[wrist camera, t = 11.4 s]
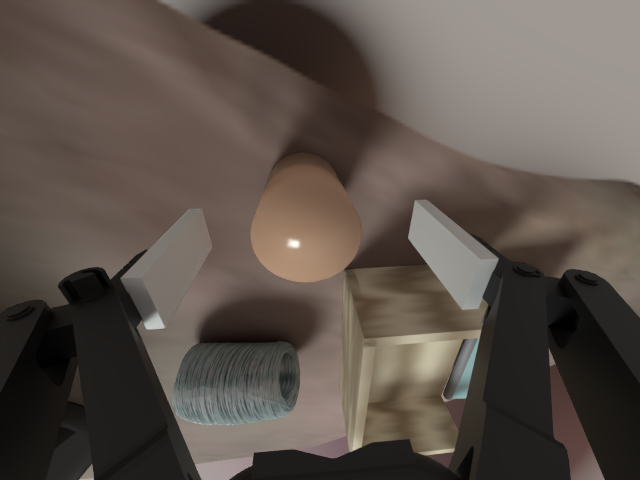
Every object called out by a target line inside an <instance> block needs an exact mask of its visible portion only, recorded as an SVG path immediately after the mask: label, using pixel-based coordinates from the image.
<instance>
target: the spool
mask: <svg viewBox="0 0 640 480" xmlns="http://www.w3.org/2000/svg"><path fill="white" fill-rule="evenodd" d="M299 386H300V368H299V360H298V356H297V353H296V351H295V349H294V347H293V346H292V345H291V344H290V343H287V342H283V341H277V342H266V343H227V342H226V343H216V342H212V343H203V342H202V343H199V344H196V345H194V346H193V347H191V349H190V350H189V351H188V352H187V354H186V355H185V357H184V358H183V360H182V362H181V365H180V368H179V371H178V373H177V377H176V382H175V385H174V389H173V394H172V404H173V407H174V410H175V412H176V414H177V416H179V417H180V418H182V419H184V420H187V421H189V422H192V423H197V424H202V425H238V424H246V423H254V422H260V421H265V420H271V419H280V418H283V417H284V416H286V415H287V414H288V413H290V412H291V411H292V410H293V408H294V406H295V404H296V401H297V397H298V392H299Z"/></svg>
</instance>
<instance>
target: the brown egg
mask: <svg viewBox="0 0 640 480" xmlns="http://www.w3.org/2000/svg"><path fill="white" fill-rule="evenodd" d="M361 238H362V227H361V222H360V219H359V216H358V214H357V212H356V210H355V208H354V206H353V204H352V202H351V200H350V199H349V197H348V195H347V193H346V191H345V189H344V187H343V185H342V184H341V182H340V180H339V178H338V176H337V174H336V172H335V170H334V169H333V167H332V166H331V165H330V164H329V163H328V162H327V161H326V160H325V159H323V158H322V157H320V156H318V155H315V154H312V153H307V152H300V153H294V154H290V155H288V156H286V157H284V158H282V159H281V160H280V161H278V162H277V163H276V164H275V166H274V167H273V168H272V170H271V172H270V174H269V177H268V180H267V182H266V185H265V188H264V191H263V194H262V197H261V199H260V202H259V205H258V208H257V211H256V214H255V216H254V219H253V222H252V227H251V242H252V246H253V249H254V252H255V254H256V256H257V257H258V259H259V260H260V262H261V263H262V264H263V265H264V266H265V267H266V268H267V269H268V270H269V271H271V272H272V273H274V274H275V275H277V276H279V277H281V278H284V279H287V280H290V281H295V282H315V281H320V280H324V279H327V278H329V277H332V276H334V275H335V274H337V273H339V272H340V271H342V270H343V269H344V268H345V267H346V266H347V265H349V263H350V262H351V261H352V260H353V258H354V257H355V255H356V254H357V251H358V249H359V247H360V243H361Z"/></svg>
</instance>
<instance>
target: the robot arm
mask: <svg viewBox="0 0 640 480" xmlns="http://www.w3.org/2000/svg"><path fill="white" fill-rule="evenodd" d="M408 239H409V240H410V242H411V243H412V244H413V246H414V247H415V248H416V249H417V251H418V252H419V253H420V255H421V256H422V257H423V259H424V260H425V261H426V263H427V264H428V265H429V267H430V268H431V269H432V271H433V272H434V273H435V275H436V276H437V277H438V279H439V280H440V281H441V282H442V284H443V285H444V286H445V288H446V289H447V290H448V292H449V293H450V294H451V296H452V297H453V298H454V300H455V301H456V302H457V304H458V305H459V306H460V308H461V309H462V310H467V309H479V306H480V304H481V301H482V299H484V300H485V301H486V302H487V304H488V307H487V309H486V311H485V314H484V316H483V318H482V321H481V323H482V324H483V325H482V330H481V334H480V339H479V343H478V348H477V352H476V357H475V361H474V366H473V370H472V375H471V379H470V383H469V388H468V392H467V397H466V402H465V406H464V411H463V415H462V419H461V424H460V428H459V433H458V437H457V442H456V446H455V450H454V453H453V456H452V459H451V462H450V465H449V468H446V467H445V466H444V465H442V464H441V463H439V462H437V461H436V460H434V459H432V458H430V457H428V456H425V455H423V454H420V453H417V452H413V449H412V446H411V442H410V439H404V440H393V441H382V442H372V443H370V444H367V445H365V446H363V447H361V448H358V449H356V450H354V451H352V452H349V453H347V454H345V455H343V456H340V457H338V458H333V459H332V458H327V457H323V456H319V455H314V454H310V453H306V452H302V451H298V450H293V449H292V450H280V451H269V452H258V453H254V457H253V465H252V466H251V467H249V468H247V469H245V470H243V471H241V472H240V473H238V474H236V475H235V476H234V477H232V478H231V479H230V480H571V478H570V467H569V459H568V454H567V450H566V448H565V446H564V445H563V444H562V443H560V442H558V441H556V440H555V439H554V436H553V423H552V422H553V421H552V404H551V385H550V366H549V349H550V351H551V354H552V356H553V359H554V361H555V363H556V366H557V367H558V370H559V373H560V375H561V377H562V380H563V382H564V384H565V387H566V389H567V392H568V394H569V396H570V399H571V401H572V403H573V406H574V408H575V410H576V413H577V415H578V417H579V420H580V422H581V424H582V427H583V429H584V432H585V434H586V436H587V439H588V441H589V443H590V446H591V448H592V450H593V453H594V455H595V457H596V460H597V462H598V464H599V467H600V469H601V472H602V474H603V476H604V479H605V480H640V318H639V317H638V315H637V314H636V313H635V312H634V311H633V310H632V309H631V308H630V306H629V305H628V304H627V303H626V302H625V301H624V300H623V299H622V297H621V296H620V295H619V294H618V293H617V292H616V291H615V289H614V288H613V287H612V286H611V285H610V284H609V283H608V282H607V281H606V280H604V279H603V278H601V277H599V276H598V275H596V274H594V273H591V272H588V271H582V270H576V269H570V270H566V271H565V272H564V274H563V276H562V278H561V279H560V278H553V277H545V276H544V275H543V273H542V272H541V271H540V270H538V269H536V268H535V267H533V266H530V265H527V264H524V263H519V262H510V261H509V260H508V259H506V258H505V257H504V256H503V255H501V254H500V253H499V252H497V251H496V250H495V249H493V248H492V247H491V246H490V245H488V244H487V243H486V242H485V241H484V240H482V239H481V238H479V237H477V236H475V235H472V234H468V233H467V232H466V231H465V230H463V229H462V228H461V227H460V226H458V225H457V224H456V223H455V222H454V221H452V220H451V219H450V218H449V217H447V216H446V215H445V214H444V213H443V212H441V211H440V210H439V209H438V208H436V207H435V206H434V205H433V204H432V203H430V202H429V201H428V200H415V203H414V208H413V214H412V219H411V225H410V230H409V236H408ZM211 249H212V244H211V241H210V237H209V233H208V229H207V226H206V222H205V218H204V214H203V211H202V209H188V210H187V211H186V212H185V213H184V214H183V215H182V217H181V218H180V219H179V220H178V221H177V222H176V223H175V224H174V225H173V226H172V227H171V228H170V229H169V230H168V231H167V232H166V233H165V234H164V235H163V236H162V237H161V238H160V239H159V240H158V241H157V242H156V243H155V244H154V245H153V246H152V247H151V248H150V249H149V250H144V251H143V252H141V253H139V254H138V255H136V256H135V257H134V258H133V259H132V260H131V261H129V264H126V265H125V266H124V267H123V269H121V270H120V271H119V272H118V273H117V274H116V275H115V276H114V277H113V278H112V279H111V280H110V279H109V277H108V275H107V273H106V271H105V270H104V269H103V268H99V267H94V268H87V269H84V270H80V271H78V272H75V273H73V274H71V275H69V276H67V277H65V278H64V279H63V280H62V281H61V282H60V283H59V285H58V288H59V289H60V290H61V292H62V293H63V295H64V296H65V298H66V299H67V301H68V302H69V303H70V304H68V305H64V306H60V307H55V308H51V309H50V308H49V307H48V305H47V304H46V303H45V302H44V301H43V300H32V301H27V302H24V303H21V304H17V305H14V306H13V307H10V308H8V309H6V310H5V311H4V312H2V313H1V314H0V480H79V479H80V478H81V477H82V475H83V474H84V473H85V472H86V470H87V469H88V468H89V467H90V466H91V464H92V465H93V472H94V480H201V478H200V476H199V474H198V471H197V469H196V467H195V464H194V462H193V459H192V457H191V455H190V452H189V450H188V448H187V445H186V443H185V440H184V438H183V436H182V433H181V431H180V429H179V426H178V424H177V421H176V419H175V417H174V414H173V412H172V410H171V407H170V405H169V402H168V400H167V398H166V395H165V393H164V391H163V388H162V386H161V383H160V381H159V379H158V376H157V374H156V372H155V369H154V367H153V364H152V362H151V360H150V357H149V355H148V353H147V350H146V348H145V345H144V343H143V341H142V338H141V336H140V334H139V332H138V330H137V328H136V327H137V326H138V324H139V323H140V321H141V320H142V321H143V323H144V325H145V327H146V329H147V330H148V329H164V328H166V326H167V325H168V323H169V321H170V319H171V318H172V316H173V314H174V313H175V311H176V309H177V307H178V306H179V304H180V302H181V301H182V299H183V297H184V295H185V294H186V292H187V290H188V289H189V287H190V285H191V283H192V282H193V280H194V278H195V277H196V275H197V273H198V271H199V270H200V268H201V266H202V264H203V263H204V261H205V259H206V258H207V256H208V254H209V252H210V251H211ZM548 347H549V348H548ZM77 365H79V372H80V379H81V386H82V393H83V400H84V408H83V407H80V406H77V405H74V404H71V403H67V401H68V398H69V394H70V390H71V387H72V383H73V379H74V376H75V372H76V369H77Z"/></svg>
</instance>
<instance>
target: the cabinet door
mask: <svg viewBox="0 0 640 480" xmlns="http://www.w3.org/2000/svg"><path fill="white" fill-rule="evenodd" d="M479 339H480V338H473V339H464V342H463V344H462V347H461V350H460V352H459V355H458V357H457V360H456V362H455V365H454V367H453V370H452V372H451V375H450V377H449V380H448V382H447V385H446V387H445V390H444V392H443V395H444V397H445V398H446V399H448V400H451V399H452V398H466V397H467V392H468V388H469V383H470V379H471V375H472V370H473V366H474V361H475V357H476V352H477V348H478V343H479Z"/></svg>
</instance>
